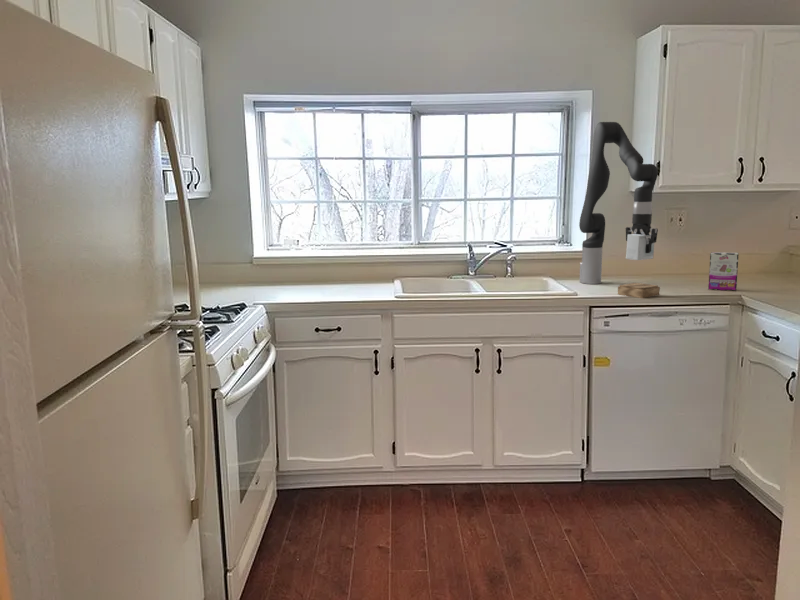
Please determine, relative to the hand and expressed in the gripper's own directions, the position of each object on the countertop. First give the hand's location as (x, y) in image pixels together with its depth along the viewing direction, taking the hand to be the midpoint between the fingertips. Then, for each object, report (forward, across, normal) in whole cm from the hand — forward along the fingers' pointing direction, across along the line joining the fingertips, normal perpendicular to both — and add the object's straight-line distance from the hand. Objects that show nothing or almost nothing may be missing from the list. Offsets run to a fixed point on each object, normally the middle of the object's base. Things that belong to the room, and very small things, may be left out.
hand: (640, 252), depth 267 cm
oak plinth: (+18, 0, 0) cm, 18 cm away
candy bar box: (+18, +16, +38) cm, 45 cm away
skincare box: (+3, 0, 0) cm, 3 cm away
